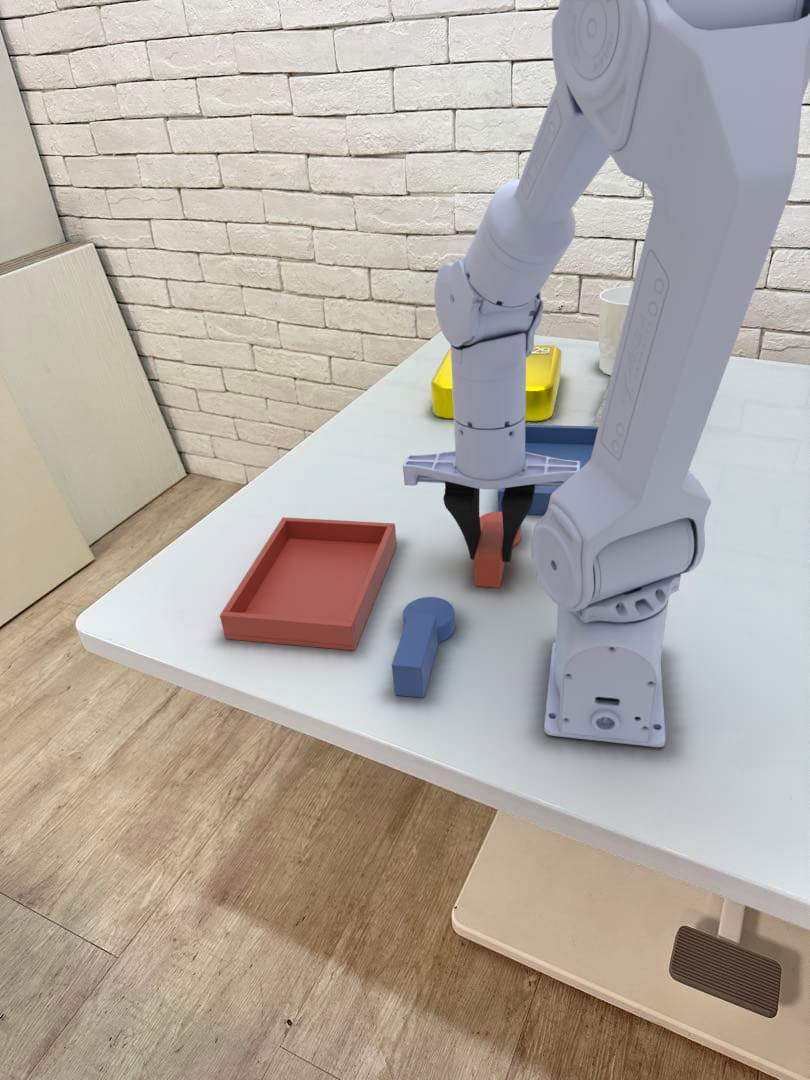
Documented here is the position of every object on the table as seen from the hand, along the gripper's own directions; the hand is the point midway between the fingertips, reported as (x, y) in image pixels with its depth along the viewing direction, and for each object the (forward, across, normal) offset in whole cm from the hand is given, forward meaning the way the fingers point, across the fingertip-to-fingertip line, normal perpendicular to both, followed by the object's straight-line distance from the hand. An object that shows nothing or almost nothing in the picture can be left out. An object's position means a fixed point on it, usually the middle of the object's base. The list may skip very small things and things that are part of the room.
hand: (491, 554), depth 71 cm
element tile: (+2, +4, -38) cm, 38 cm away
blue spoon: (+1, +4, +12) cm, 13 cm away
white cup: (+2, -12, -48) cm, 50 cm away
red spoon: (+1, 0, -2) cm, 2 cm away
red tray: (+1, +15, +5) cm, 16 cm away
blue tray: (+1, -5, -17) cm, 18 cm away
